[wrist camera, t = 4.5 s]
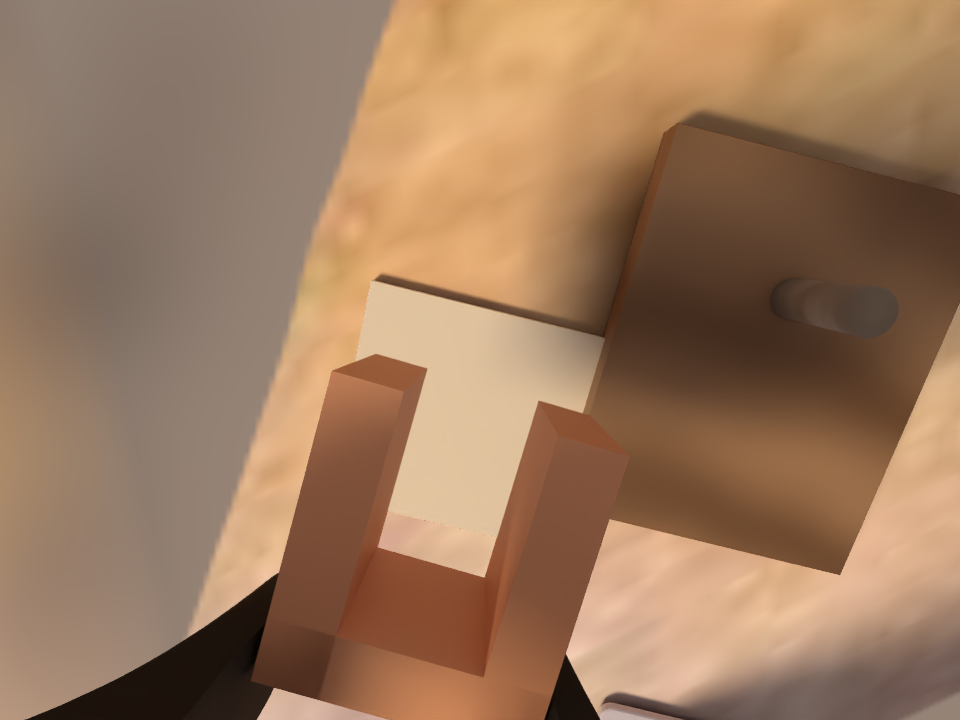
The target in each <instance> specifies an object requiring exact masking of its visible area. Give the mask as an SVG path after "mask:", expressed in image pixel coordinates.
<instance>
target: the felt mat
mask: <svg viewBox="0 0 960 720" xmlns="http://www.w3.org/2000/svg"><path fill="white" fill-rule="evenodd" d="M604 341H605V338H604V337H601V336H597V335H593V334H589V333H585V332H581V331H577V330H573V329H569V328H565V327H561V326H557V325H553V324H549V323H545V322H541V321H537V320H533V319H529V318H525V317H521V316H517V315H513V314H509V313H505V312H501V311H497V310H493V309H489V308H485V307H481V306H477V305H473V304H469V303H464V302H460V301H456V300H452V299H448V298H444V297H440V296H436V295H432V294H428V293H424V292H420V291H416V290H412V289H408V288H404V287H400V286H396V285H392V284H388V283H384V282H380V281H376V280H371V284H370V289H369V294H368V299H367V304H366V309H365V314H364V319H363V324H362V329H361V334H360V339H359V344H358V349H357V355H356V360H355V362H356V361H358V360H361V359H363V358H366V357H369V356H371V355H374V354H379V355H382V356H386V357H389V358H393V359H396V360H400V361H403V362H407V363H410V364H414V365H417V366H421V367H424V368H428V369H427V372H426V376H425V380H424V383H423V387H422V390H421V394H420V397H419V401H418V405H417V408H416V412H415V415H414V419H413V422H412V426H411V429H410V433H409V437H408V440H407V444H406V447H405V451H404V454H403V458H402V462H401V465H400V469H399V472H398V476H397V479H396V483H395V487H394V490H393V494H392V497H391V501H390V504H389V508H388V512H392V513H397V514H401V515H405V516H409V517H413V518H417V519H421V520H425V521H430V522H434V523H438V524H442V525H446V526H450V527H454V528H458V529H463V530H467V531H471V532H475V533H479V534H483V535H487V536H491V537H496V538H497V536H498V533H499V529H500V526H501V523H502V519H503V516H504V513H505V509H506V506H507V503H508V500H509V496H510V493H511V490H512V486H513V483H514V480H515V476H516V473H517V470H518V467H519V463H520V460H521V457H522V453H523V450H524V447H525V444H526V440H527V437H528V434H529V430H530V427H531V424H532V420H533V417H534V414H535V411H536V407H537V404H538V401H542V402H546V403H549V404H553V405H556V406H559V407H563V408H566V409H570V410H573V411H577V412H580V413H583V411H584V407H585V404H586V401H587V397H588V394H589V391H590V387H591V384H592V381H593V377H594V374H595V371H596V367H597V364H598V361H599V357H600V354H601V351H602V347H603V344H604Z"/></svg>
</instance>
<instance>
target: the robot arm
mask: <svg viewBox="0 0 960 720" xmlns="http://www.w3.org/2000/svg"><path fill="white" fill-rule="evenodd" d="M278 575H279V573H278V574H276V575H274V576H273V577H271V578H270V579H269V580H268V581H266V582H265V583H264V584H262V585H261V586H260V587H259V588H257V589H256V590H255V591H253V592H252V593H251V594H250V595H248V596H247V597H246V598H244V599H243V600H242V601H240V602H239V603H238V604H236V605H235V606H233V607H232V608H231V609H229V610H228V611H226V612H225V613H224V614H222V615H221V616H219V617H218V618H217V619H215V620H214V621H212V622H211V623H209V624H208V625H207V626H205V627H204V628H202V629H201V630H199V631H198V632H196V633H194V634H193V635H191V636H190V637H188V638H187V639H185V640H184V641H182V642H180V643H179V644H177V645H176V646H174V647H173V648H171V649H169V650H168V651H166V652H165V653H163V654H161V655H160V656H158V657H156V658H154V659H153V660H151V661H149V662H147V663H146V664H144V665H142V666H140V667H139V668H137V669H135V670H133V671H131V672H129V673H127V674H125V675H124V676H122V677H120V678H118V679H116V680H114V681H112V682H110V683H108V684H106V685H104V686H102V687H99V688H97V689H95V690H93V691H91V692H89V693H87V694H84V695H82V696H80V697H78V698H76V699H74V700H71V701H69V702H67V703H65V704H63V705H61V706H58V707H56V708H53V709H51V710H49V711H46V712H44V713H41V714H39V715H36V716H34V717H31V718H29V719H26V720H257V718H258V716H259V715H260V713H261V711H262V709H263V708H264V706H265V704H266V702H267V701H268V699H269V697H270V695H271V693H272V691H273V688H274V687H270V686H267V685H263V684H260V683H256V682H252V681H251V678H252V674H253V670H254V666H255V662H256V659H257V655H258V651H259V647H260V643H261V640H262V636H263V632H264V628H265V624H266V621H267V617H268V613H269V609H270V605H271V601H272V598H273V594H274V590H275V586H276V582H277V579H278ZM544 720H684V719H679V718H675V717H671V716H667V715H663V714H658V713H654V712H650V711H646V710H642V709H637V708H633V707H629V706H625V705H621V704H616V703H610V702H608V703H605V704H603V705H602V706H601V707H600V709H599V711H598V714H597V712H596V711H595V709H594V707H593V705H592V704H591V702H590V700H589V698H588V696H587V694H586V692H585V691H584V689H583V687H582V685H581V683H580V681H579V679H578V677H577V675H576V673H575V671H574V669H573V667H572V665H571V663H570V661H569V659H568V657H567V655H566V654H565V657H564V660H563V663H562V666H561V669H560V673H559V676H558V679H557V682H556V685H555V688H554V691H553V694H552V697H551V700H550V703H549V706H548V710H547V713H546V716H545V719H544Z"/></svg>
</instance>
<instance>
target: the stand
mask: <svg viewBox="0 0 960 720" xmlns="http://www.w3.org/2000/svg"><path fill="white" fill-rule="evenodd" d="M959 303H960V195H958V194H954V193H950V192H946V191H942V190H938V189H934V188H930V187H926V186H923V185H919V184H915V183H911V182H907V181H903V180H899V179H895V178H891V177H887V176H883V175H879V174H876V173H872V172H868V171H864V170H860V169H856V168H852V167H848V166H844V165H840V164H836V163H832V162H829V161H825V160H821V159H817V158H813V157H809V156H805V155H801V154H797V153H793V152H789V151H785V150H782V149H778V148H774V147H770V146H766V145H762V144H758V143H754V142H750V141H746V140H742V139H738V138H735V137H731V136H727V135H723V134H719V133H715V132H711V131H707V130H703V129H699V128H695V127H691V126H688V125H684V124H680V123H678V124H676V125H675V126H673V127H672V128H670V129H669V130H668V131H666V132H665V133H664V135H663V138H662V141H661V145H660V148H659V151H658V155H657V158H656V161H655V165H654V168H653V171H652V175H651V178H650V182H649V185H648V188H647V192H646V195H645V198H644V202H643V205H642V208H641V212H640V215H639V218H638V222H637V225H636V228H635V232H634V235H633V238H632V242H631V245H630V248H629V252H628V255H627V259H626V262H625V265H624V269H623V272H622V275H621V279H620V282H619V285H618V289H617V292H616V295H615V299H614V302H613V305H612V309H611V312H610V315H609V319H608V322H607V325H606V329H605V332H604V335H603V337H604V338H605V341H604V344H603V347H602V351H601V354H600V357H599V361H598V364H597V367H596V371H595V374H594V377H593V381H592V384H591V387H590V391H589V394H588V397H587V401H586V404H585V407H584V411H583V413H584V414H587V415H590V416H591V417H592V418H593V419H594V420H595V421H596V422H597V423H598V424H599V425H600V426H601V427H602V428H603V429H604V430H605V431H606V432H607V434H608V435H609V436H610V437H611V438H612V439H613V440H614V441H615V442H616V443H617V444H618V445H619V446H620V447H621V448H622V449H623V450H624V451H625V452H626V453H627V454H628V455H629V456H630V457H629V460H628V463H627V466H626V469H625V472H624V475H623V478H622V481H621V485H620V488H619V491H618V494H617V497H616V500H615V503H614V506H613V509H612V512H611V515H610V518H609V519H612V520H616V521H620V522H624V523H628V524H632V525H636V526H640V527H645V528H649V529H653V530H657V531H661V532H665V533H669V534H673V535H677V536H682V537H686V538H690V539H694V540H698V541H702V542H706V543H710V544H714V545H718V546H723V547H727V548H731V549H735V550H739V551H743V552H747V553H751V554H755V555H760V556H764V557H768V558H772V559H776V560H780V561H784V562H788V563H792V564H796V565H801V566H805V567H809V568H813V569H817V570H821V571H825V572H829V573H833V574H838V575H840V574H841V572H842V569H843V567H844V565H845V562H846V560H847V558H848V556H849V553H850V551H851V549H852V547H853V544H854V542H855V540H856V537H857V535H858V533H859V531H860V528H861V526H862V524H863V522H864V519H865V517H866V515H867V512H868V510H869V508H870V506H871V503H872V501H873V499H874V496H875V494H876V492H877V490H878V487H879V485H880V483H881V481H882V478H883V476H884V474H885V471H886V469H887V467H888V465H889V462H890V460H891V458H892V456H893V453H894V451H895V449H896V446H897V444H898V442H899V440H900V437H901V435H902V433H903V430H904V428H905V426H906V424H907V421H908V419H909V417H910V415H911V412H912V410H913V408H914V405H915V403H916V401H917V399H918V396H919V394H920V392H921V390H922V387H923V385H924V383H925V380H926V378H927V376H928V374H929V371H930V369H931V367H932V365H933V362H934V360H935V358H936V355H937V353H938V351H939V349H940V346H941V344H942V342H943V339H944V337H945V335H946V333H947V330H948V328H949V326H950V324H951V321H952V319H953V317H954V314H955V312H956V310H957V308H958V305H959Z"/></svg>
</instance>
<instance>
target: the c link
mask: <svg viewBox="0 0 960 720" xmlns="http://www.w3.org/2000/svg"><path fill="white" fill-rule="evenodd" d="M427 369H428V368H424V367H421V366H417V365H414V364H410V363H407V362H403V361H400V360H396V359H393V358H389V357H386V356H382V355H379V354H374V355H371V356H369V357H366V358H363V359H361V360H358V361H356V362H353V363H351V364H348V365H346V366H343V367H341V368H338V369H336V370H333V371H332V373H331V377H330V380H329V384H328V388H327V392H326V396H325V399H324V403H323V407H322V411H321V415H320V419H319V422H318V426H317V430H316V434H315V438H314V441H313V445H312V449H311V453H310V457H309V460H308V464H307V468H306V472H305V476H304V480H303V483H302V487H301V491H300V495H299V499H298V502H297V506H296V510H295V514H294V518H293V521H292V525H291V529H290V533H289V537H288V541H287V544H286V548H285V552H284V556H283V560H282V563H281V567H280V571H279V575H278V579H277V582H276V586H275V590H274V594H273V598H272V601H271V605H270V609H269V613H268V617H267V621H266V624H265V628H264V632H263V636H262V640H261V643H260V647H259V651H258V655H257V659H256V662H255V666H254V670H253V674H252V678H251V681H252V682H256V683H260V684H263V685H267V686H270V687H274V688H277V689H281V690H285V691H288V692H292V693H295V694H299V695H303V696H306V697H310V698H313V699H317V700H320V701H324V702H328V703H331V704H335V705H338V706H342V707H346V708H349V709H353V710H356V711H360V712H363V713H367V714H371V715H374V716H378V717H381V718H385V719H389V720H544V719H545V716H546V713H547V710H548V706H549V703H550V700H551V697H552V694H553V691H554V688H555V685H556V682H557V679H558V676H559V673H560V669H561V666H562V663H563V660H564V657H565V654H566V651H567V648H568V645H569V642H570V639H571V636H572V633H573V629H574V626H575V623H576V620H577V617H578V614H579V611H580V608H581V605H582V602H583V599H584V596H585V592H586V589H587V586H588V583H589V580H590V577H591V574H592V571H593V568H594V565H595V562H596V559H597V555H598V552H599V549H600V546H601V543H602V540H603V537H604V534H605V531H606V528H607V525H608V522H609V518H610V515H611V512H612V509H613V506H614V503H615V500H616V497H617V494H618V491H619V488H620V485H621V481H622V478H623V475H624V472H625V469H626V466H627V463H628V460H629V457H630V456H629V455H628V454H627V453H626V452H625V451H624V450H623V449H622V448H621V447H620V446H619V445H618V444H617V443H616V442H615V441H614V440H613V439H612V438H611V437H610V436H609V435H608V434H607V432H606V431H605V430H604V429H603V428H602V427H601V426H600V425H599V424H598V423H597V422H596V421H595V420H594V419H593V418H592V417H591V416H590V415H587V414H584V413H580V412H577V411H573V410H570V409H566V408H563V407H559V406H556V405H553V404H549V403H546V402H542V401H538V404H537V407H536V411H535V414H534V417H533V420H532V424H531V427H530V430H529V434H528V437H527V440H526V444H525V447H524V450H523V453H522V457H521V460H520V463H519V467H518V470H517V473H516V476H515V480H514V483H513V486H512V490H511V493H510V496H509V500H508V503H507V506H506V509H505V513H504V516H503V519H502V523H501V526H500V529H499V533H498V536H497V539H496V542H495V546H494V549H493V552H492V556H491V559H490V562H489V565H488V569H487V572H486V575H485V578H483V577H480V576H476V575H473V574H469V573H466V572H462V571H459V570H455V569H452V568H448V567H444V566H441V565H437V564H434V563H430V562H427V561H423V560H420V559H416V558H413V557H409V556H406V555H402V554H399V553H395V552H392V551H388V550H384V549H381V548H377V547H378V544H379V540H380V536H381V533H382V529H383V526H384V522H385V519H386V515H387V512H388V508H389V504H390V501H391V497H392V494H393V490H394V487H395V483H396V479H397V476H398V472H399V469H400V465H401V462H402V458H403V454H404V451H405V447H406V444H407V440H408V437H409V433H410V429H411V426H412V422H413V419H414V415H415V412H416V408H417V405H418V401H419V397H420V394H421V390H422V387H423V383H424V380H425V376H426V372H427Z"/></svg>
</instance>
